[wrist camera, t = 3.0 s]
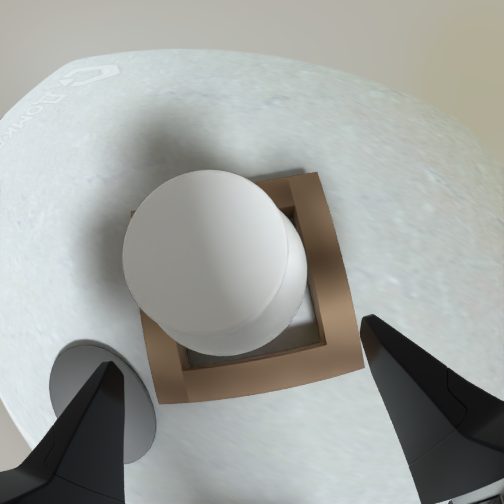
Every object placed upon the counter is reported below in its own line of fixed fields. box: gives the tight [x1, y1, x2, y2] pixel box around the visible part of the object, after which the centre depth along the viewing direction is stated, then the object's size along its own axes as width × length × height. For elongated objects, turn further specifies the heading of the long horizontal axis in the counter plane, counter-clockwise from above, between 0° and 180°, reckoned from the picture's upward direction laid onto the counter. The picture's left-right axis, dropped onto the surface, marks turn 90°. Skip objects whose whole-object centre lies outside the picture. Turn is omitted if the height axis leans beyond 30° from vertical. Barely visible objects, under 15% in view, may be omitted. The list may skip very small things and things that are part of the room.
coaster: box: [49, 345, 156, 464], centre depth 18 cm, size 11×11×1 cm
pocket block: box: [131, 172, 365, 404], centre depth 19 cm, size 14×14×2 cm
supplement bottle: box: [122, 170, 307, 356], centre depth 13 cm, size 7×7×13 cm
